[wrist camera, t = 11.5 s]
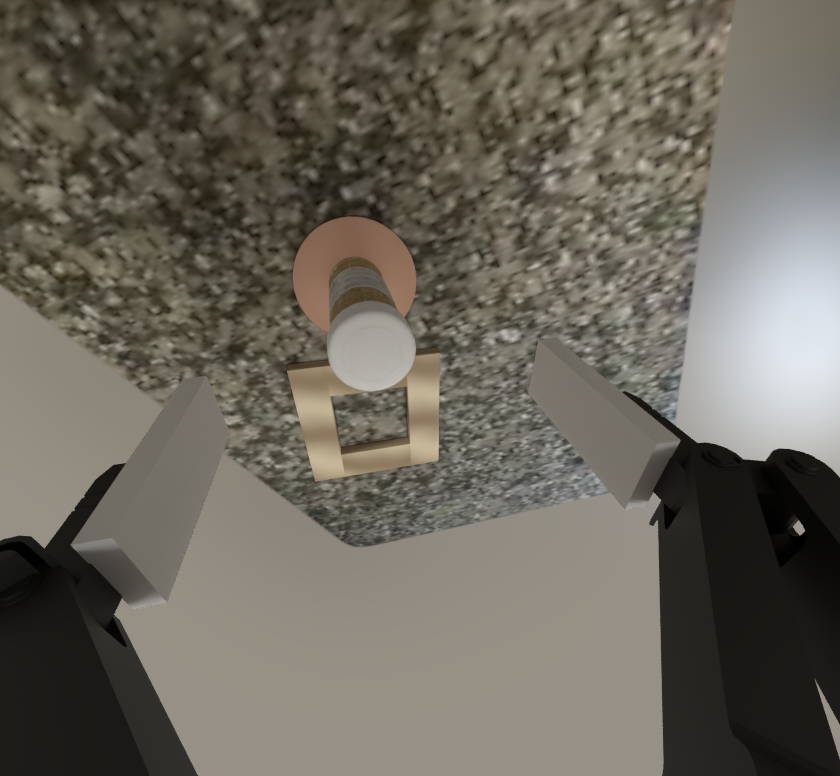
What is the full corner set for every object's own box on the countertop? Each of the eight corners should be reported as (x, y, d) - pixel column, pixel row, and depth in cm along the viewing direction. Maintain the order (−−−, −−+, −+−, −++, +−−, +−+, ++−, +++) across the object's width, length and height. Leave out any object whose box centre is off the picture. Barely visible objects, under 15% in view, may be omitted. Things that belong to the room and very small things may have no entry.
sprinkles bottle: (368, 319, 31) (391, 405, 19) (318, 295, 29) (311, 376, 17) (393, 272, 29) (434, 336, 18) (342, 243, 27) (351, 296, 16)
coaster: (280, 219, 26) (279, 220, 25) (412, 213, 28) (414, 214, 27) (306, 342, 31) (306, 346, 31) (415, 330, 33) (417, 334, 32)
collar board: (288, 364, 32) (287, 370, 31) (436, 347, 34) (439, 353, 33) (315, 473, 39) (315, 481, 38) (435, 453, 42) (438, 460, 41)
